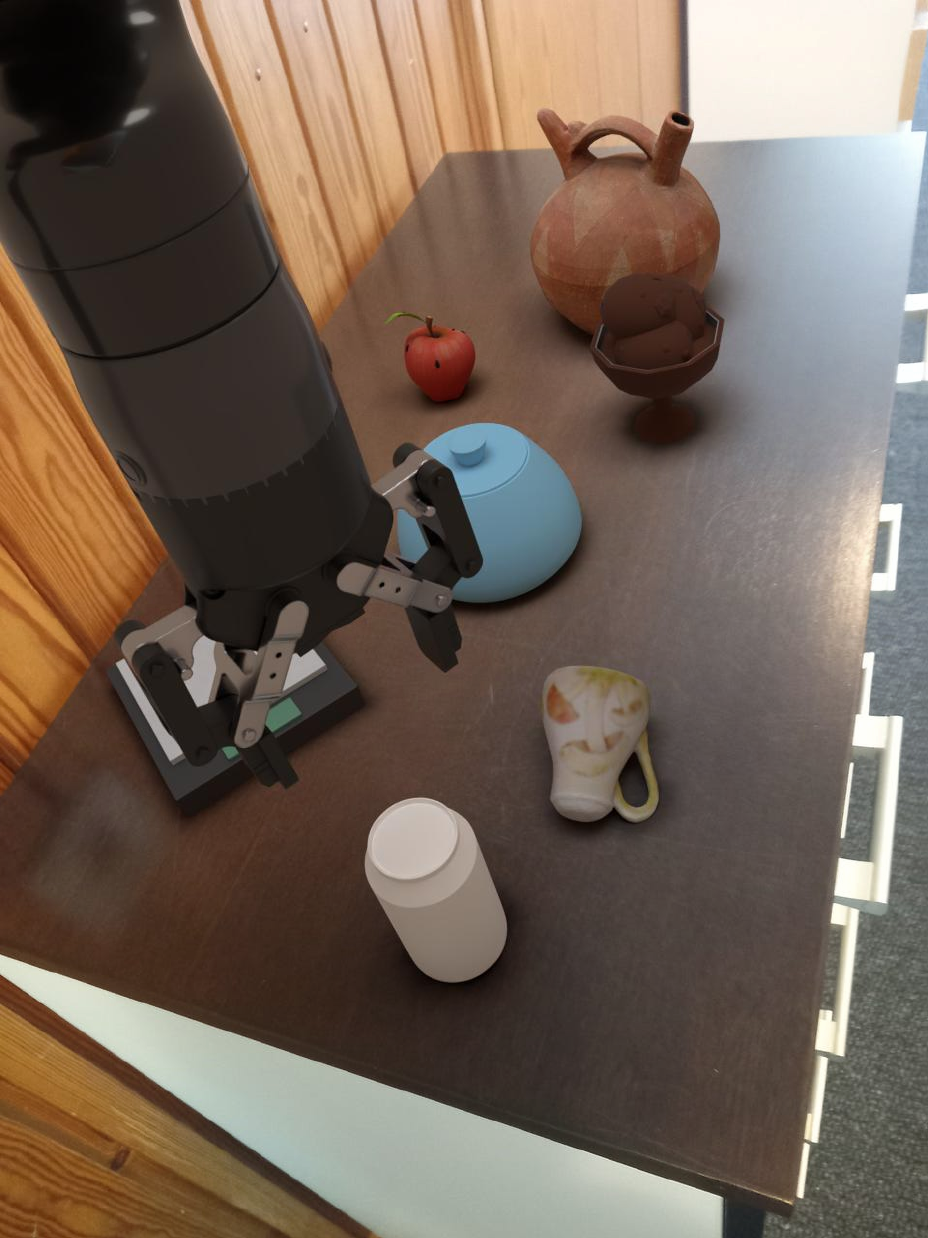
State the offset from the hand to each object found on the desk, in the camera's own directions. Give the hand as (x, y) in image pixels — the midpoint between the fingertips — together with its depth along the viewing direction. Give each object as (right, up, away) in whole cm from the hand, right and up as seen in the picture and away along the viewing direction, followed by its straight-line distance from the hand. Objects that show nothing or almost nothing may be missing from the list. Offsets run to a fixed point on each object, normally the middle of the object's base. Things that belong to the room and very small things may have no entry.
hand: (363, 715), depth 45 cm
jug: (+21, +36, +60) cm, 73 cm away
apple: (+3, +26, +57) cm, 63 cm away
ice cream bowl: (+22, +21, +47) cm, 56 cm away
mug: (+14, -6, +24) cm, 28 cm away
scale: (-13, -2, +35) cm, 38 cm away
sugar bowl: (+7, +10, +41) cm, 42 cm away
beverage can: (+4, -15, +18) cm, 24 cm away
